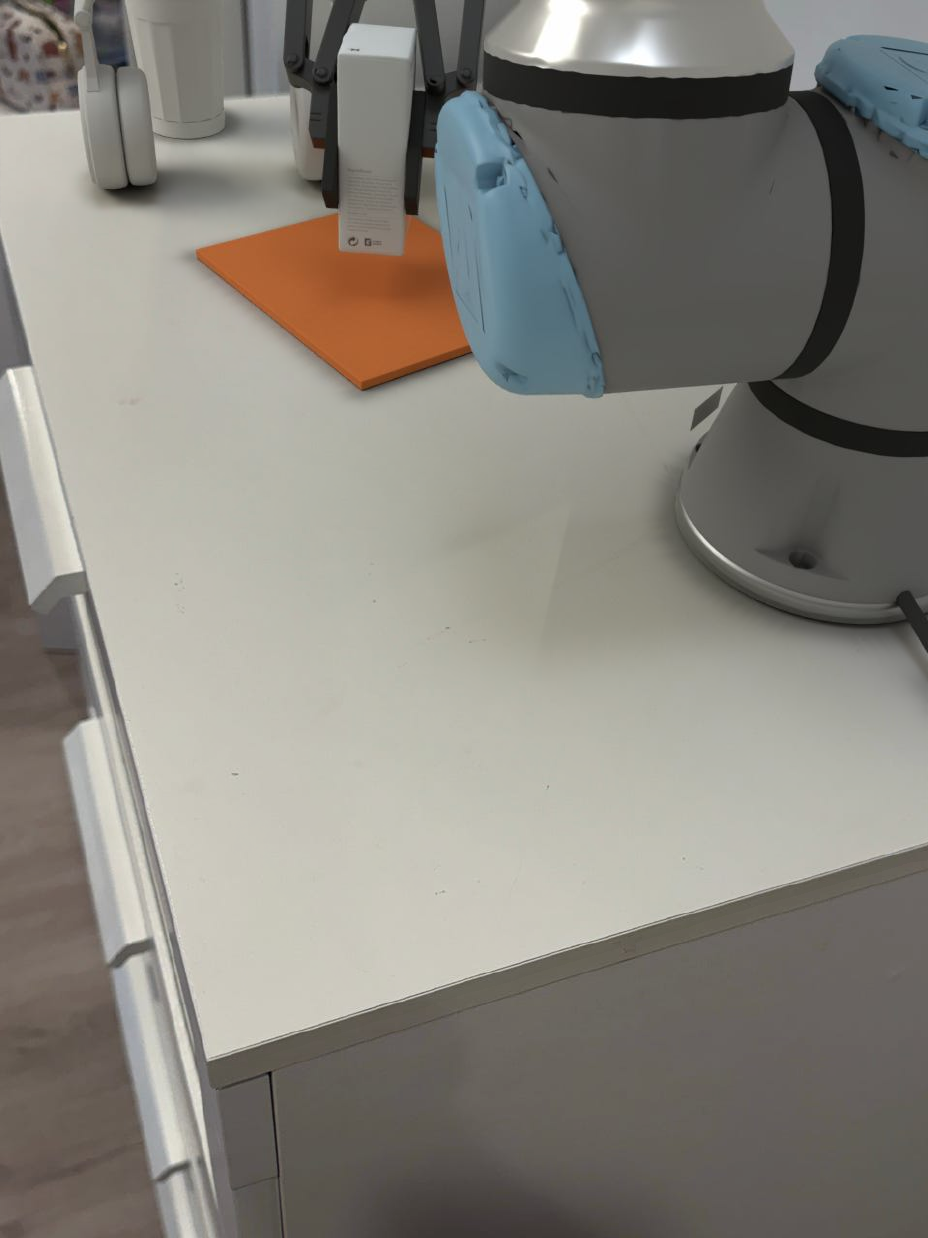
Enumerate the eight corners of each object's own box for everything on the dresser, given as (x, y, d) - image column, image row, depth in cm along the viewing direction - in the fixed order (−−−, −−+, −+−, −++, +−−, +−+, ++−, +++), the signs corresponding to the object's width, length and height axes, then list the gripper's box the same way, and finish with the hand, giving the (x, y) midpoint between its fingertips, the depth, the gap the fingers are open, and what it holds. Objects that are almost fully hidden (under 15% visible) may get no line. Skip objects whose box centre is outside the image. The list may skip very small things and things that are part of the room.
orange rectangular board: (563, 320, 77) (564, 311, 77) (361, 390, 69) (361, 381, 69) (387, 207, 88) (387, 199, 88) (196, 257, 81) (195, 248, 80)
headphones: (92, 209, 85) (44, -98, 72) (93, 162, 91) (48, -129, 78) (366, 200, 89) (368, -92, 76) (350, 155, 95) (349, -122, 82)
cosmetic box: (405, 258, 74) (410, 58, 66) (337, 253, 74) (334, 52, 66) (412, 217, 79) (418, 25, 71) (349, 213, 79) (347, 20, 71)
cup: (226, 145, 95) (214, -18, 87) (127, 138, 95) (105, -26, 87) (242, 109, 101) (232, -47, 93) (148, 103, 101) (130, -55, 92)
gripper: (538, -121, 76) (510, 237, 75) (270, -144, 76) (239, 214, 75) (548, -207, 68) (516, 190, 67) (250, -232, 68) (215, 165, 67)
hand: (370, 202), depth 71 cm, fingers closed on cosmetic box, 4 cm apart
